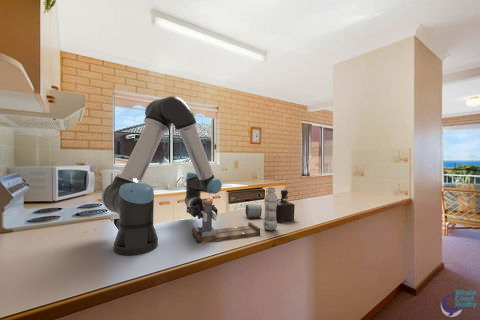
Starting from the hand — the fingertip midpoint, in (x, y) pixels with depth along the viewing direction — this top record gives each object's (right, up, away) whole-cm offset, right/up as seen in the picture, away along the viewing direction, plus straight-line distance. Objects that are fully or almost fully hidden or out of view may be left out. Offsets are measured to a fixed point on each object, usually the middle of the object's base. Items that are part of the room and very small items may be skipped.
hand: (210, 217), depth 91 cm
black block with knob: (+35, -10, +34) cm, 50 cm away
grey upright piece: (-2, -8, +5) cm, 10 cm away
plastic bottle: (+26, -10, +18) cm, 33 cm away
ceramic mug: (+19, -10, +40) cm, 46 cm away
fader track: (+6, -10, +9) cm, 15 cm away
